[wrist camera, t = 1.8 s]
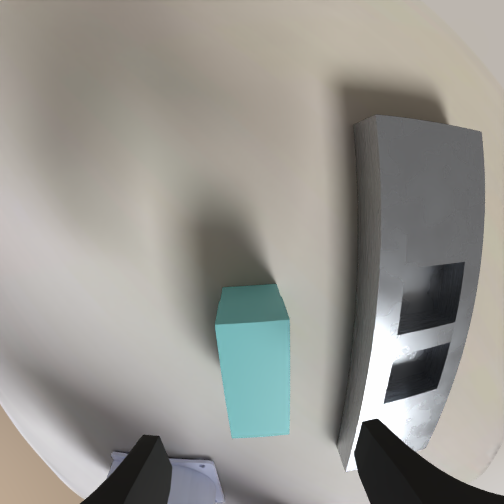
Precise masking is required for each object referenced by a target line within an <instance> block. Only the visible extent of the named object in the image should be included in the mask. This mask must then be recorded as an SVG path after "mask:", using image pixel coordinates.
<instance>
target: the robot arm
mask: <svg viewBox="0 0 504 504" xmlns="http://www.w3.org/2000/svg"><path fill="white" fill-rule="evenodd" d="M111 457H112V458H113V460H114V461H113V463H112V466H111V468H110V471H109V474H108V476H107V479H106V480H105V481H104V482H103V483H102V484H101V485H100V486H99V487H98V488H97V489H96V490H95V491H94V492H93V493H92V494H91V495H90V496H89V497H87V498H86V499H85V500H84V501H83V502H81V503H80V504H215V503H223V502H225V497H224V494H223V491H222V488H221V484H220V481H219V478H218V474H217V471H216V467H215V464H214V462H213V461H210V460H188V459H171V458H168V456H167V453H166V451H165V449H164V446H163V444H162V441H161V439H160V437H159V436H152V435H143V436H142V437H141V438H140V439H139V441H138V442H137V443H136V445H135V446H134V447H133V449H132V450H131V451H130V452H129V454H127V453H120V452H112V454H111ZM354 458H355V462H356V466H357V469H358V473H359V476H360V479H361V482H362V484H363V486H364V489H365V491H366V494H367V496H368V499H369V501H370V503H371V504H504V496H502V495H497V494H494V493H490V492H487V491H484V490H481V489H478V488H476V487H473V486H470V485H468V484H466V483H464V482H462V481H459V480H457V479H455V478H454V477H452V476H450V475H448V474H446V473H445V472H443V471H441V470H440V469H438V468H437V467H435V466H434V465H432V464H431V463H429V462H428V461H427V460H425V459H424V458H423V457H421V456H420V455H419V454H418V453H416V452H415V451H414V450H413V449H411V448H410V447H409V446H408V445H407V444H405V443H404V442H403V441H402V440H401V439H400V438H399V437H398V436H396V435H395V434H394V433H393V432H392V431H391V430H390V429H389V428H388V427H387V426H386V425H385V424H384V423H383V422H382V421H380V420H379V419H378V418H375V419H371V420H367V421H362V424H361V428H360V432H359V436H358V439H357V443H356V447H355V451H354Z"/></svg>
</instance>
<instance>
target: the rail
mask: <svg viewBox="0 0 504 504" xmlns="http://www.w3.org/2000/svg"><path fill="white" fill-rule="evenodd" d="M353 126H354V138H355V151H356V167H357V190H358V268H357V291H356V307H355V321H354V333H353V343H352V353H351V362H350V370H349V378H348V385H347V392H346V399H345V405H344V411H343V417H342V423H341V428H340V433H339V439H338V444H337V448H338V451H339V454H340V457H341V460H342V463H343V466H344V469H345V472H348V471H352V470H357V466H356V462H355V458H354V451H355V447H356V443H357V439H358V436H359V432H360V428H361V424H362V421H367V420H371V419H375V418H378V419H379V420H380V421H382V422H383V423H384V424H385V425H386V426H387V427H388V428H389V429H390V430H391V431H392V432H393V433H394V434H395V435H396V436H398V437H399V438H400V439H401V440H402V441H403V442H404V443H405V444H407V445H408V446H409V447H410V448H411V449H413V450H414V451H415V452H416V451H419V450H422V449H424V448H426V446H427V444H428V442H429V440H430V438H431V436H432V434H433V432H434V429H435V427H436V425H437V423H438V420H439V418H440V416H441V413H442V411H443V408H444V406H445V403H446V401H447V398H448V395H449V393H450V390H451V387H452V384H453V381H454V378H455V375H456V372H457V369H458V366H459V363H460V360H461V356H462V353H463V349H464V346H465V342H466V338H467V334H468V330H469V326H470V322H471V317H472V312H473V308H474V302H475V297H476V291H477V285H478V279H479V272H480V264H481V256H482V246H483V234H484V215H485V172H484V154H483V141H482V132H480V131H476V130H471V129H467V128H462V127H457V126H452V125H447V124H442V123H436V122H430V121H424V120H417V119H410V118H403V117H395V116H386V115H373V116H371V117H369V118H367V119H365V120H363V121H361V122H359V123H357V124H354V125H353Z"/></svg>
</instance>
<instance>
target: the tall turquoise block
mask: <svg viewBox="0 0 504 504" xmlns="http://www.w3.org/2000/svg"><path fill="white" fill-rule="evenodd" d="M215 330H216V338H217V345H218V353H219V360H220V367H221V374H222V380H223V387H224V393H225V400H226V406H227V412H228V418H229V424H230V430H231V436H232V438H250V437H265V436H277V435H286V434H289V426H290V319H289V316H288V313H287V310H286V307H285V304H284V302H283V299H282V297H281V296H280V293H279V290H278V287H277V284H265V285H251V286H237V287H223V288H222V294H221V300H220V301H219V305H218V310H217V315H216V321H215Z"/></svg>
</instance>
